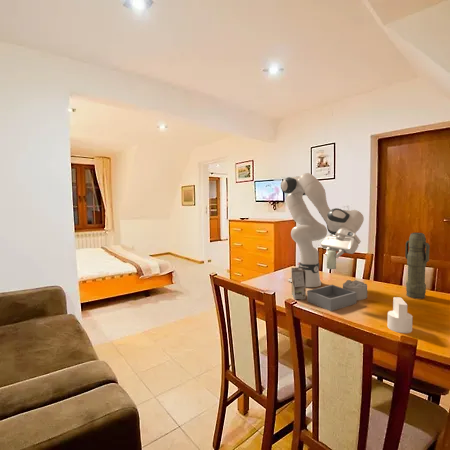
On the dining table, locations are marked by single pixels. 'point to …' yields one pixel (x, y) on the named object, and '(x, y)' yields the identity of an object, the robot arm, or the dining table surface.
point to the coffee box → (298, 283)
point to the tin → (331, 259)
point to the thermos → (416, 265)
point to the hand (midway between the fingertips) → (331, 256)
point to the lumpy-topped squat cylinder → (356, 288)
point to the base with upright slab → (399, 317)
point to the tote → (331, 297)
